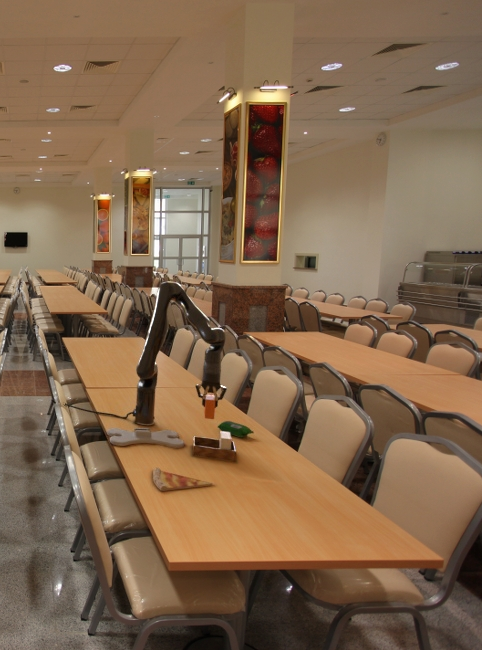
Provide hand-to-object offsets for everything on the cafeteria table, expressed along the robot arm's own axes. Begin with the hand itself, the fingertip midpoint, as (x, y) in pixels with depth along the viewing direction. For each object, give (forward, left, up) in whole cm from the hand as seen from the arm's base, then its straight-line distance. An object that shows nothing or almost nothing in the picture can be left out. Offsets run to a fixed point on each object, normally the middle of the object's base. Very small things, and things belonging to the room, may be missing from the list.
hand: (209, 407), depth 235 cm
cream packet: (+7, -13, -17) cm, 22 cm away
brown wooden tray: (+2, -13, -18) cm, 22 cm away
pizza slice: (-12, -51, -18) cm, 55 cm away
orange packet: (0, 0, -4) cm, 4 cm away
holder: (-28, -7, -18) cm, 34 cm away
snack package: (+13, +17, -18) cm, 28 cm away
